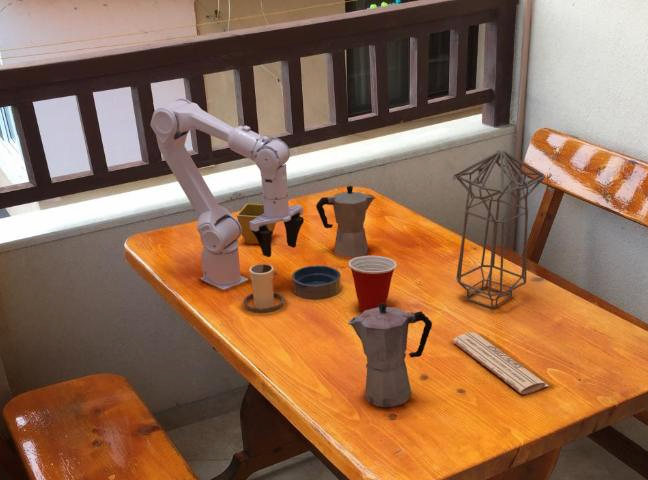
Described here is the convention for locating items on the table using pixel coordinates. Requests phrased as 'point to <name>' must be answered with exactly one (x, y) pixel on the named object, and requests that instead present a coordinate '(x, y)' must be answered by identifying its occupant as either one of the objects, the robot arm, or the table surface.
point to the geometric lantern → (486, 165)
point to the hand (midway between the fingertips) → (279, 251)
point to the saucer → (263, 310)
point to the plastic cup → (372, 279)
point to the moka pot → (388, 352)
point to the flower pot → (248, 215)
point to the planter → (316, 282)
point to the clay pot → (262, 285)
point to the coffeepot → (348, 221)
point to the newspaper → (499, 363)
